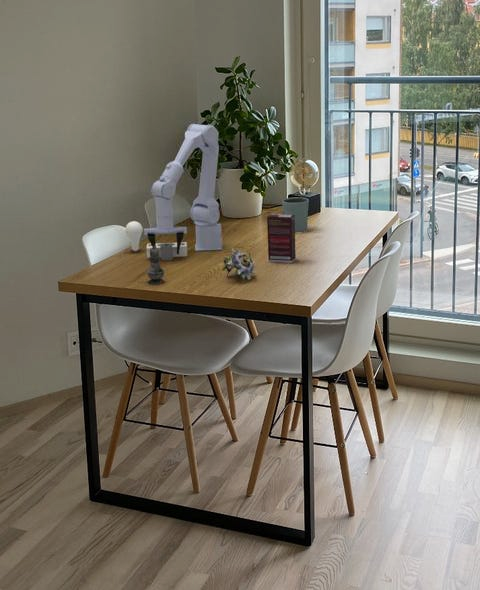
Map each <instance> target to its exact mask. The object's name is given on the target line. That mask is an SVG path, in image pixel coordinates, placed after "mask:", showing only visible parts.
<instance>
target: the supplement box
mask: <svg viewBox="0 0 480 590" xmlns="http://www.w3.org/2000/svg"><path fill="white" fill-rule="evenodd" d="M266 225H267V247H268V248H267V253H268V254H267V255H268V256H267V257H268V258H267V259H268V262H269V263H286V264H287V263H288V264H293V263H294V262H295V261H296V259H297V257H296V254H297V253H296V233H295V215H294V214H284V213H269V214H268V215H267V216H266Z"/></svg>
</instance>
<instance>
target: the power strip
mask: <svg viewBox="0 0 480 590" xmlns="http://www.w3.org/2000/svg"><path fill="white" fill-rule="evenodd" d="M163 243H164V242H163ZM163 243H156V248H157V249H158V250H159V258H161V248H160V245H161V244H163ZM171 243H172V249H173V258H175V257H187V256H188V245H187V243H188V242H186V241H184V242H183V241H182V242H181V245H180V249H179V254H177V242H171ZM152 248H153V247H152V245H151V243H150V242H148V243H147V244H146V258H147V259H150V250H151V249H152Z"/></svg>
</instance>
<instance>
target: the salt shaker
mask: <svg viewBox="0 0 480 590" xmlns="http://www.w3.org/2000/svg"><path fill="white" fill-rule="evenodd" d="M148 259H149V263H150V267H149V269H147V270H146V274H147V276H148V278H149V280H148V281H147V283H148V284H149V283H150V284H149V285H160V284H164V283H165V282H166V281H165V280H164V279H163V277H164V275H165V272H166V271H165V269H164V268H161V257H159V250H158V249H157V248H155V246H153V248H152V249H151V250H150V258H148Z"/></svg>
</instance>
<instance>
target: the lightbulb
mask: <svg viewBox="0 0 480 590" xmlns="http://www.w3.org/2000/svg"><path fill="white" fill-rule="evenodd" d="M143 232H144V227H143V225H142V224H141V223H140V222H138V221H136V220H135V221H134V220H133V221H129V222H128V223H126V226H125V234H126V235H127V237H128V239H129V242H130V245H131V250H132V251H133V252H137V251H139V249H140V247H139V246H140V240H141V236H142V234H143Z"/></svg>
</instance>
